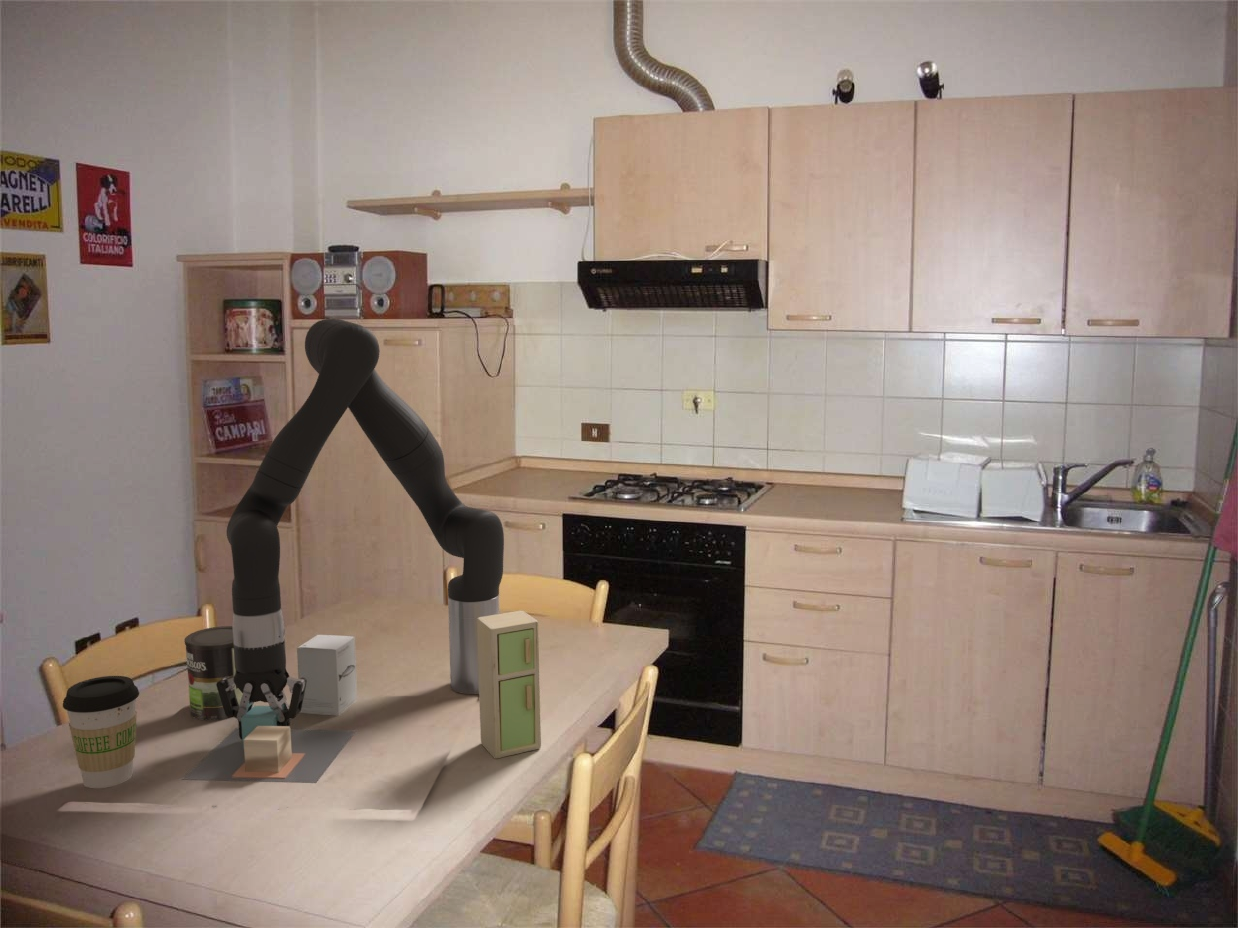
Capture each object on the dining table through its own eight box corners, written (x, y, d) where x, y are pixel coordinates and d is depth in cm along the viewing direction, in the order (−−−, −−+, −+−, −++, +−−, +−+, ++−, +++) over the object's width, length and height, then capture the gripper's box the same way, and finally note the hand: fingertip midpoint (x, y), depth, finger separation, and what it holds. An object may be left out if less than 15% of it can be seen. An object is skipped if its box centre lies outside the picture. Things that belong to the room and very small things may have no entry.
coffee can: (206, 731, 163) (201, 649, 160) (179, 714, 170) (173, 635, 167) (265, 713, 170) (260, 634, 168) (237, 697, 177) (232, 621, 175)
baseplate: (356, 736, 160) (356, 729, 160) (316, 788, 143) (316, 781, 142) (236, 733, 162) (235, 727, 161) (182, 785, 144) (181, 778, 144)
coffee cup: (95, 806, 138) (86, 704, 135) (56, 789, 143) (47, 690, 141) (160, 778, 146) (152, 682, 144) (121, 763, 151) (113, 669, 149)
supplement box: (339, 721, 166) (335, 649, 165) (298, 718, 168) (295, 646, 166) (359, 704, 174) (355, 635, 172) (320, 701, 175) (316, 633, 173)
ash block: (278, 772, 145) (276, 740, 145) (245, 771, 146) (243, 739, 145) (291, 757, 150) (290, 726, 150) (259, 756, 151) (258, 725, 150)
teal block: (286, 735, 158) (285, 706, 158) (274, 749, 153) (272, 718, 153) (256, 735, 159) (254, 705, 158) (242, 748, 154) (241, 718, 153)
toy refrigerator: (495, 761, 151) (492, 629, 148) (479, 743, 158) (475, 616, 154) (543, 750, 155) (541, 621, 152) (525, 733, 161) (523, 609, 158)
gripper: (202, 645, 150) (210, 750, 153) (294, 646, 149) (300, 752, 152) (224, 629, 158) (231, 730, 160) (312, 630, 157) (318, 732, 159)
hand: (265, 740), depth 156 cm, fingers closed on teal block, 5 cm apart
